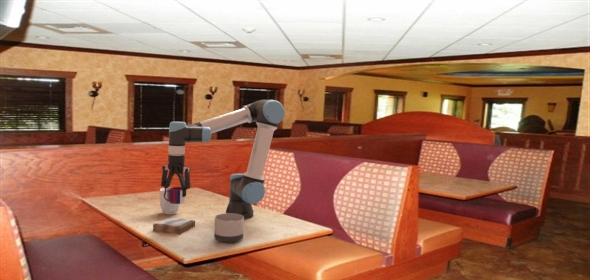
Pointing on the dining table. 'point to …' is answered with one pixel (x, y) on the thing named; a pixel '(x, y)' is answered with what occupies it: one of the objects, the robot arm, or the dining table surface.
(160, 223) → the stand
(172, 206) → the mug
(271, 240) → the dining table surface
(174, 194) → the cup
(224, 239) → the planter
